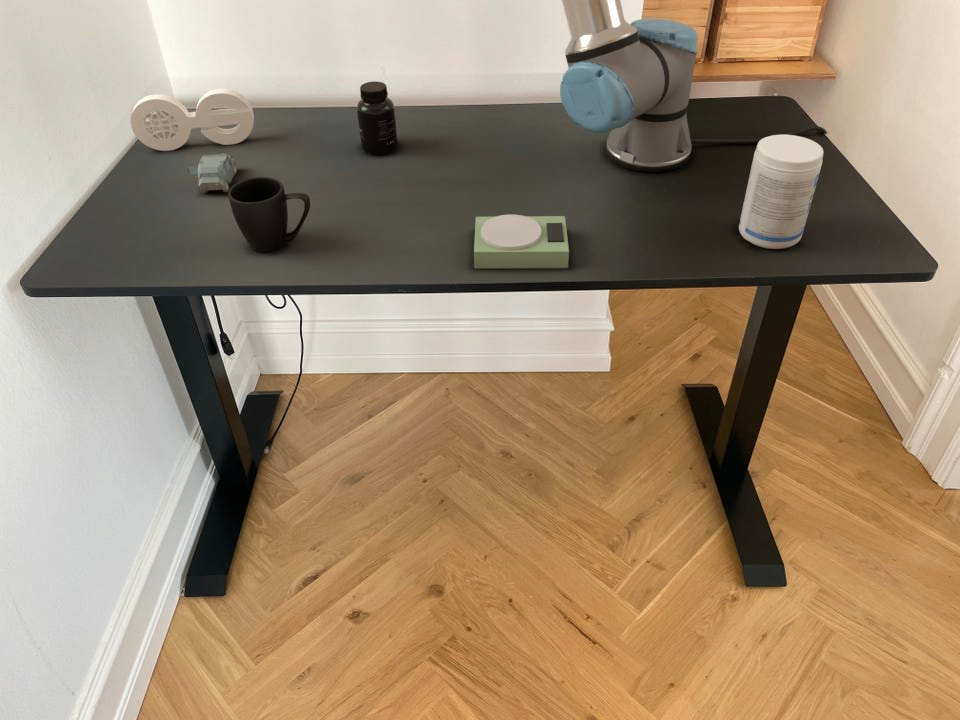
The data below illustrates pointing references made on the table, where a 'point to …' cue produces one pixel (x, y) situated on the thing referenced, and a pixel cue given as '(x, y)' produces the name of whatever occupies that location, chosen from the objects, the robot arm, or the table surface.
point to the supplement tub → (780, 190)
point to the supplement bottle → (376, 119)
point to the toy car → (214, 172)
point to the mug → (264, 212)
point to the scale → (521, 242)
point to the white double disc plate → (191, 119)
